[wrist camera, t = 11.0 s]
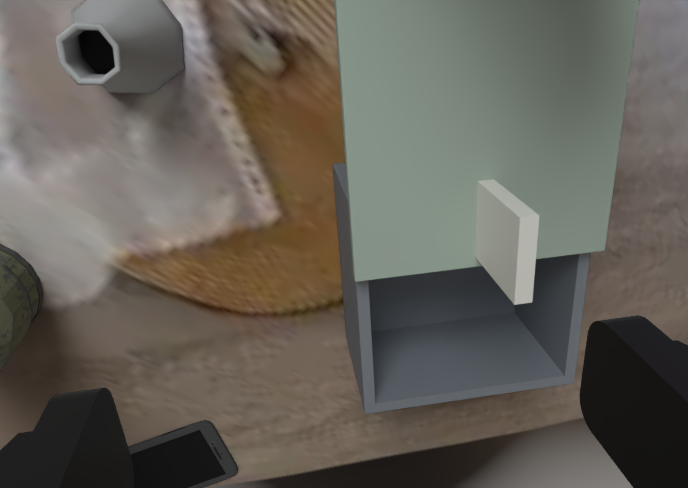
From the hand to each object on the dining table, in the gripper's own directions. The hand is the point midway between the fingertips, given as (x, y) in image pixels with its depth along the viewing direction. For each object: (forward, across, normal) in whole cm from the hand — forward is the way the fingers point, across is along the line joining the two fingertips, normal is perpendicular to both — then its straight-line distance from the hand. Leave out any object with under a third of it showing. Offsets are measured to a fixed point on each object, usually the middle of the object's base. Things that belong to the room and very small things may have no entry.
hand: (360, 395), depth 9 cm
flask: (+34, +10, -4) cm, 36 cm away
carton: (+34, -11, +14) cm, 38 cm away
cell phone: (+35, +16, +34) cm, 51 cm away
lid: (+24, -11, +2) cm, 26 cm away
